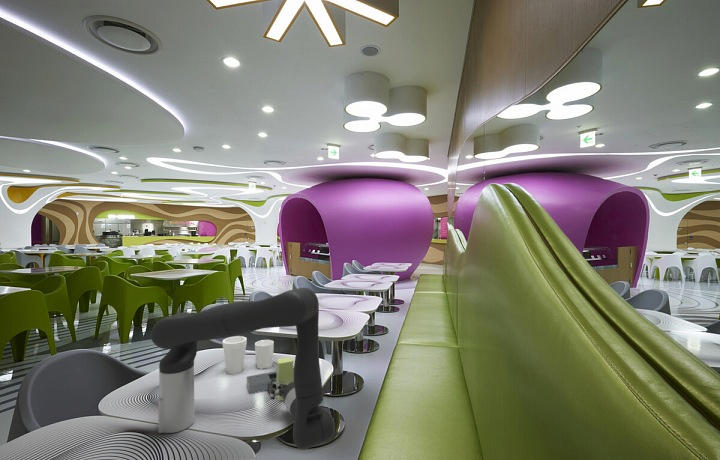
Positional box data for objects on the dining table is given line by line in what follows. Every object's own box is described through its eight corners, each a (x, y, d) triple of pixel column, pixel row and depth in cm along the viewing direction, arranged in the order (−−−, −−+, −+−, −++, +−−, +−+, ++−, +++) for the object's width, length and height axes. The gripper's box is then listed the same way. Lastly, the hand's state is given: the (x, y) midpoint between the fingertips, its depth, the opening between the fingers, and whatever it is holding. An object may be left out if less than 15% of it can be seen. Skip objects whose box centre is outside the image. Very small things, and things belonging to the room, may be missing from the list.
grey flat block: (249, 393, 119) (249, 385, 119) (246, 384, 126) (246, 376, 126) (308, 381, 128) (308, 373, 128) (303, 373, 136) (303, 366, 136)
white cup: (270, 369, 140) (270, 345, 140) (252, 369, 140) (252, 345, 140) (276, 362, 147) (275, 339, 147) (258, 362, 148) (258, 339, 148)
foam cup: (222, 368, 141) (222, 338, 141) (245, 364, 145) (245, 335, 145) (223, 377, 132) (223, 345, 132) (247, 373, 136) (247, 341, 136)
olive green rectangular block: (279, 401, 114) (278, 363, 114) (276, 396, 117) (276, 359, 117) (293, 398, 116) (293, 361, 116) (290, 393, 119) (290, 357, 119)
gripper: (320, 382, 103) (305, 363, 118) (273, 392, 97) (264, 370, 112) (320, 406, 103) (306, 384, 118) (273, 417, 97) (264, 393, 112)
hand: (285, 377), depth 115 cm, fingers open, 8 cm apart
